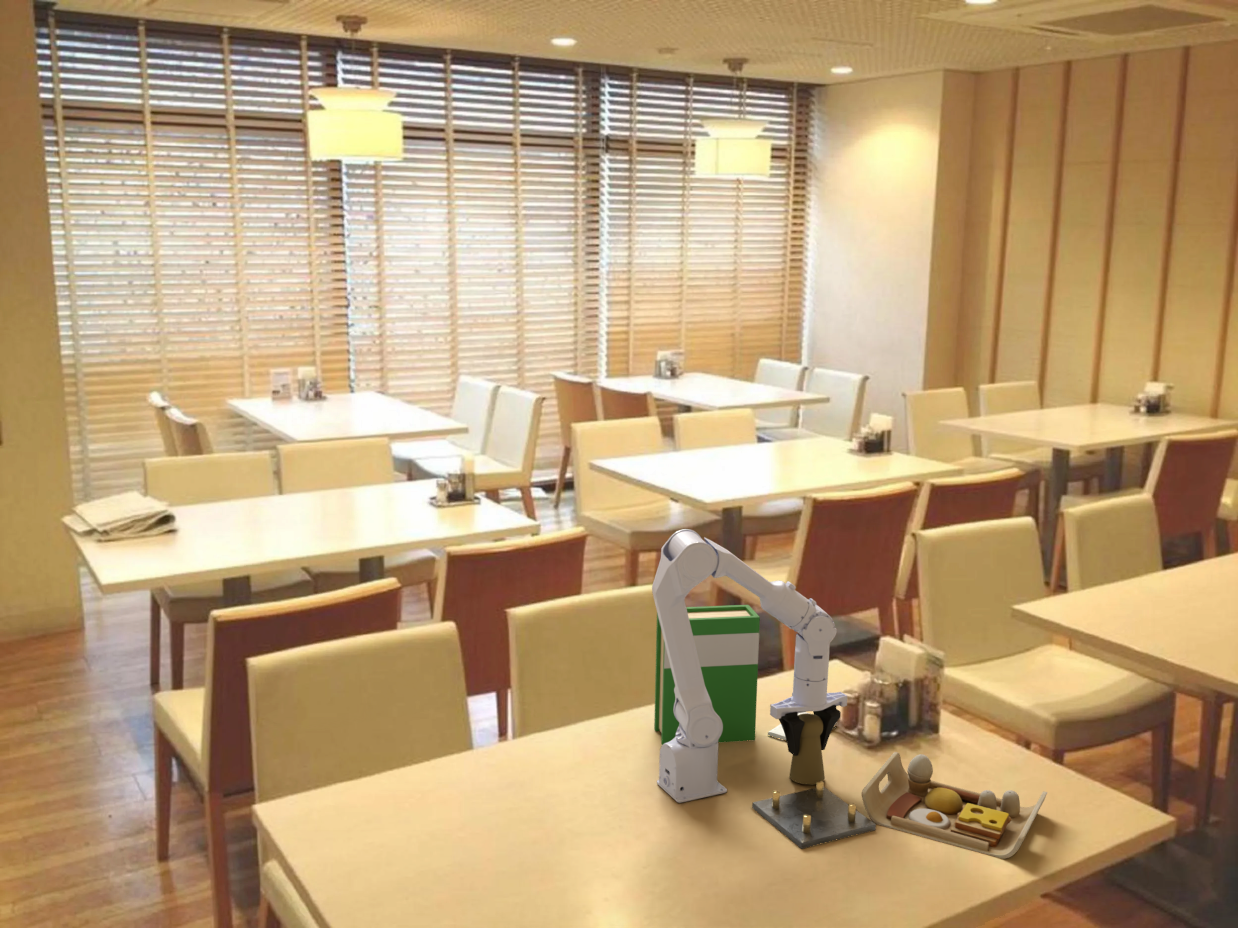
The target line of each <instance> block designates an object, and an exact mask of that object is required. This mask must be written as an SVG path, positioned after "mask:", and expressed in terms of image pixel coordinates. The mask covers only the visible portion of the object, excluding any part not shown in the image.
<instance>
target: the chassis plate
mask: <svg viewBox="0 0 1238 928" xmlns="http://www.w3.org/2000/svg"><path fill="white" fill-rule="evenodd" d="M824 784H825V782H824V780H823V781H817V782H816V784H815V785H816V786H815V787H814V788H809V789H806V790H800V791H796V792H792V793H788V794H783V795H781V791H779V790H772V792H771V793H772V796H771V798H766V799H762V800H757V801H754V802H752V809H753V810H754V811H755V812H756V811H757V812H756V813H757V814H758V815H760V816H761V817H762V818H763V819H765V820H766V821H767V822H769V823H770V824H771V825H772V826H773V827H774V828H776V829H777V830H778V831H780V833H782V834H783V835H786V836H785V837H786V838H788V839H789V840H790V841H791V840H792V841H791V842H793V843H794V845H796V846H798V848H800V849H801V850H802V849H806V847H807V848H811V847H814V846H813V845H815V846H818V845H817V844H819V845H821V844H820V843H823V844H825V842H827V843H829V841H831V842H833V841H832V840H835V841H837V840H836V839H838V840H841V839H840V838H842V839H845V838H844V837H846V838H849V837H848V836H850V837H852V836H851V835H854V836H857V835H856V834H858V835H862V834H865V832H866V833H870V832H873V831H876V827H877V824H876V823H874V822H873V821H872V820H871V819H870V818H868V817H867V816H865V815H864V814H862V813H861V812H859V811H858V810H857V805H856V804H855V803H847V802H846V801H844V800H843V799H841V797H839V796H838V795H836V794H835V793H833V792H832V791H831V790H829V789H828V788H826V787H825V786H824ZM869 831H870V832H869ZM861 833H862V834H861ZM810 846H811V847H810Z"/></svg>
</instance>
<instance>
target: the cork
mask: <svg viewBox="0 0 1238 928" xmlns="http://www.w3.org/2000/svg"><path fill="white" fill-rule="evenodd" d="M798 716H799V719H801V720H802V721H804V722H805V724H804V726H803V729H802V733H801V737H800V748H799V754H798V755H797V756H794V755H793V754H792V756H791V757H792V758H791V764H790V769H789V778H790V780H792V781H793V782H795V783H799V784H802V785H816V782H817V781H823V782H824V780H825V778H826V777H825V776H826V775H825V766H824V760H823V759H824V758H823V752H822V751H823V750H821V742H820V735H821V733H822V731H823V722H822V720H821V718H820V717H818V716H817V715H814V713H810V714H809V712H807V713H804V714H800V715H798Z"/></svg>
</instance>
